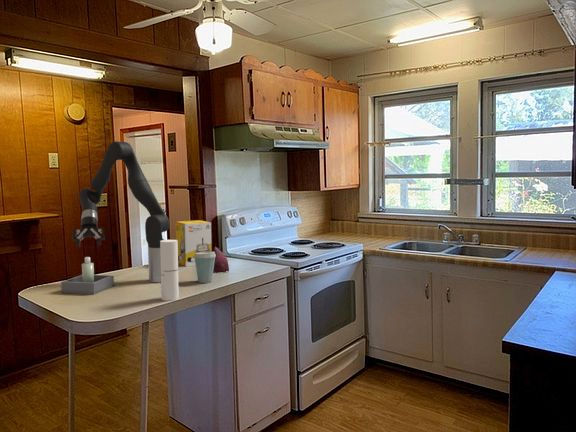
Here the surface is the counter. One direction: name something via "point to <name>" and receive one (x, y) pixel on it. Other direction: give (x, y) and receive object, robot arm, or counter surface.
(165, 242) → the cylindrical container
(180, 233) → the packaging box
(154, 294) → the counter surface
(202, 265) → the disposable coffee cup
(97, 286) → the bin
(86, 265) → the cruet
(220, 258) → the vegetable
